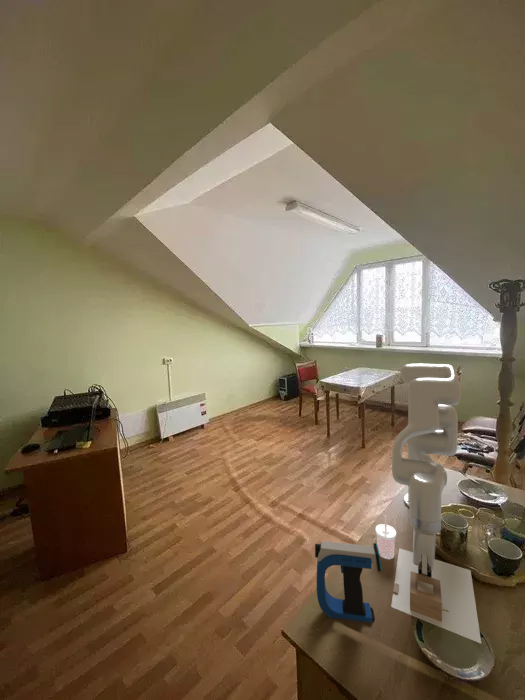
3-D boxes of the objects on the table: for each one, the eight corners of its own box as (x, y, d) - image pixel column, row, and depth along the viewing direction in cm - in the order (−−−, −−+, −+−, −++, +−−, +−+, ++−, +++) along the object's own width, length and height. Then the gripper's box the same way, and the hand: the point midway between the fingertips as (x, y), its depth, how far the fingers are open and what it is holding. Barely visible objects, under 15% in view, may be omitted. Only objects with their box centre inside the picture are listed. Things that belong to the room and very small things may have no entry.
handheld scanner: (383, 630, 72) (382, 555, 70) (317, 620, 75) (314, 548, 74) (380, 612, 76) (378, 541, 75) (317, 603, 80) (314, 535, 78)
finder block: (410, 587, 81) (410, 570, 81) (440, 597, 78) (440, 579, 78) (409, 609, 75) (409, 591, 75) (441, 621, 72) (441, 602, 71)
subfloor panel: (390, 548, 97) (390, 544, 96) (481, 577, 85) (481, 572, 84) (380, 606, 78) (380, 601, 78) (495, 654, 66) (495, 647, 66)
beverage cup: (374, 547, 97) (374, 508, 96) (394, 550, 96) (394, 510, 94) (376, 562, 92) (376, 521, 90) (398, 566, 90) (397, 523, 88)
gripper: (411, 500, 88) (411, 556, 90) (407, 532, 75) (408, 597, 77) (440, 507, 84) (439, 565, 86) (441, 542, 71) (441, 610, 73)
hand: (424, 580), depth 82 cm, fingers closed
